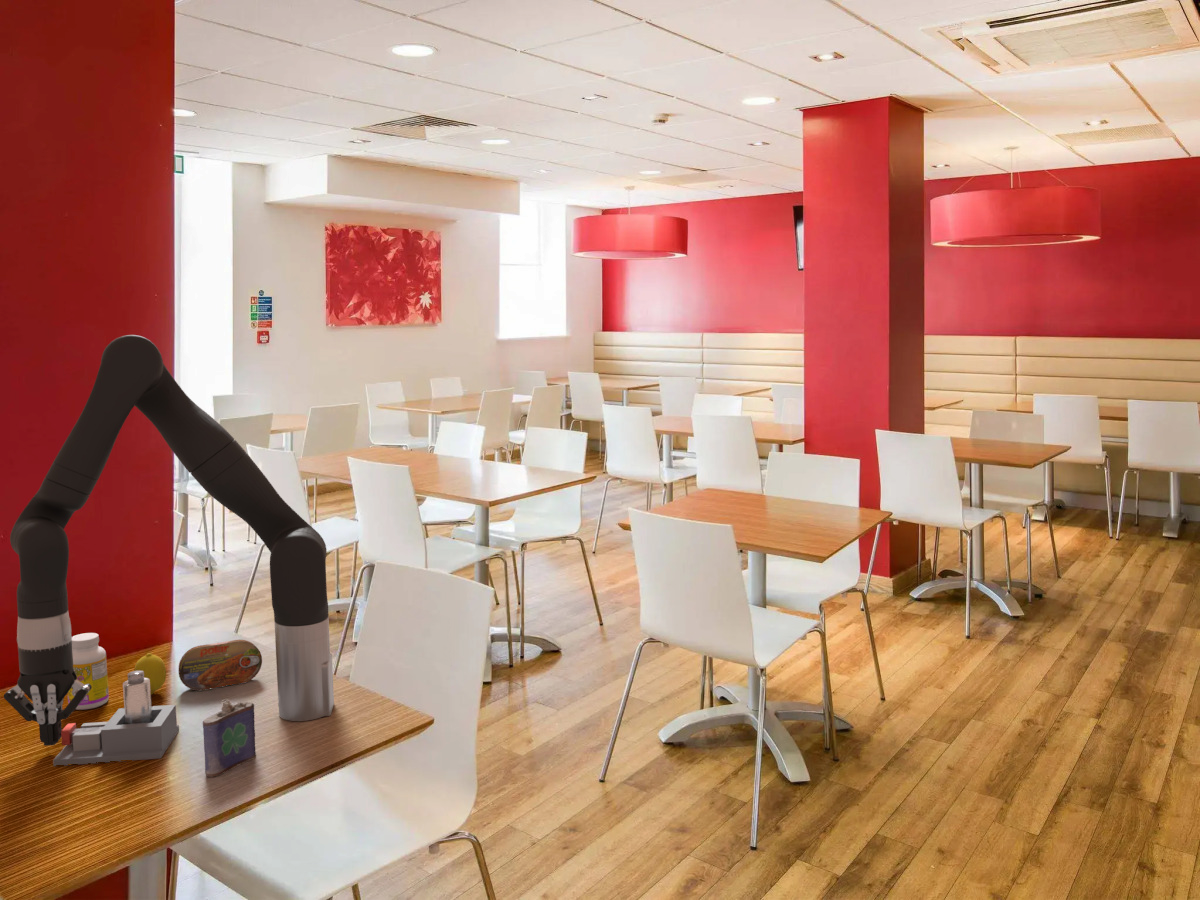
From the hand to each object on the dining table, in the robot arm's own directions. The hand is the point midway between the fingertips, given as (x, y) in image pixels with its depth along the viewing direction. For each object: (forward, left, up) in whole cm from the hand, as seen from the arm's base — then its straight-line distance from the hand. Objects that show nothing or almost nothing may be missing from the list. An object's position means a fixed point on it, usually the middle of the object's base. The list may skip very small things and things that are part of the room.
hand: (51, 743), depth 157 cm
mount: (-10, 0, -1) cm, 10 cm away
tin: (-21, -27, -2) cm, 34 cm away
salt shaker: (-14, 0, -1) cm, 14 cm away
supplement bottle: (+1, -21, -2) cm, 21 cm away
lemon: (-9, -24, -2) cm, 26 cm away
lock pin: (-7, 0, 0) cm, 7 cm away
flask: (-30, +10, -2) cm, 32 cm away
